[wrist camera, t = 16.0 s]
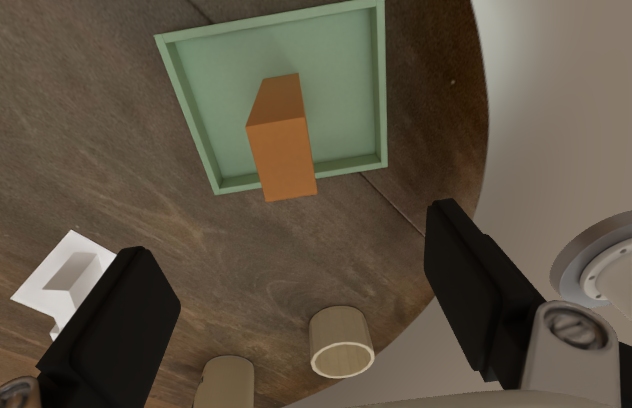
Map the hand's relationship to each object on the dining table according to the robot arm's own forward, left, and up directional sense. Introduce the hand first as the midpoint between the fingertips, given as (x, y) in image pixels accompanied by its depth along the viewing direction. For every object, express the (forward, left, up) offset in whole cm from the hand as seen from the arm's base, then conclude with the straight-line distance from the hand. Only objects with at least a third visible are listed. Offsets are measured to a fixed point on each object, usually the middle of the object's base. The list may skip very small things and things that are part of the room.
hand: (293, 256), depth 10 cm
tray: (0, 0, -20) cm, 20 cm away
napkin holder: (+28, +18, -20) cm, 39 cm away
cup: (-1, +32, -20) cm, 37 cm away
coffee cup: (+17, +39, -20) cm, 47 cm away
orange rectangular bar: (0, 0, -19) cm, 19 cm away
